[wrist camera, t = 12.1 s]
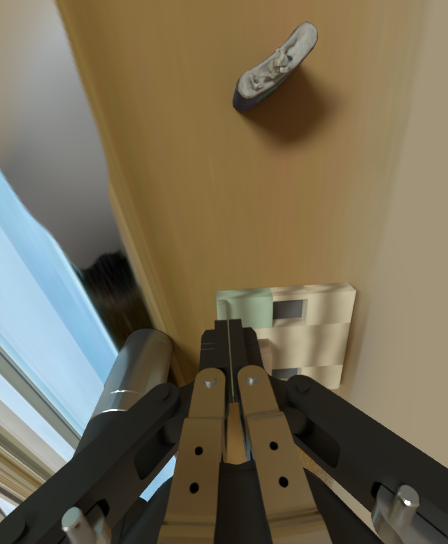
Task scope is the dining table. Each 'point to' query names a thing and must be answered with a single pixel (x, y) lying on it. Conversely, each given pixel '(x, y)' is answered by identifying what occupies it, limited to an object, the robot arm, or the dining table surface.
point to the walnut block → (266, 355)
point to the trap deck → (296, 326)
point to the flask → (274, 68)
